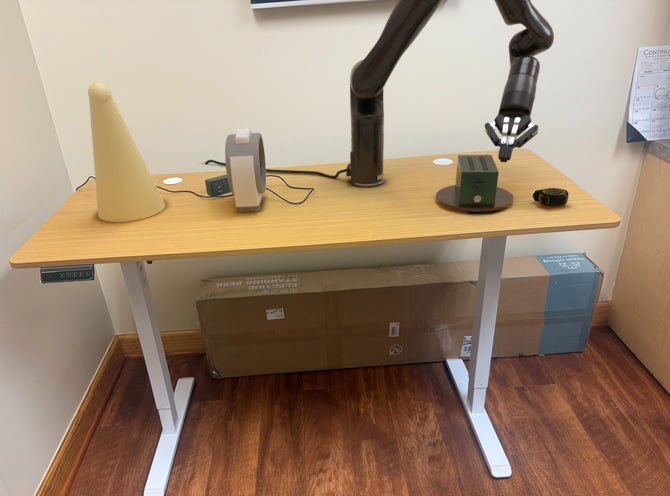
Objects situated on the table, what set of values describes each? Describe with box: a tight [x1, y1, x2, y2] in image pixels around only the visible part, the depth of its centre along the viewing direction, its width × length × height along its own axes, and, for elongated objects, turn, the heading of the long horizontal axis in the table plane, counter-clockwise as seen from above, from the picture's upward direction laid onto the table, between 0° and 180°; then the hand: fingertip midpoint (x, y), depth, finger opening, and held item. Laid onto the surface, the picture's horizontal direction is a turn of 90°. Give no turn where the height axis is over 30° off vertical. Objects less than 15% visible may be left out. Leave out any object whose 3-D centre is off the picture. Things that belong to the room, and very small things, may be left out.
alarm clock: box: [224, 127, 267, 213], centre depth 141 cm, size 18×8×20 cm, turn 179°
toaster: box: [435, 154, 515, 213], centre depth 135 cm, size 19×19×9 cm
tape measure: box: [532, 187, 569, 208], centre depth 131 cm, size 7×7×4 cm
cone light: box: [87, 81, 166, 223], centre depth 137 cm, size 25×18×35 cm
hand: (503, 160), depth 128 cm, fingers closed
